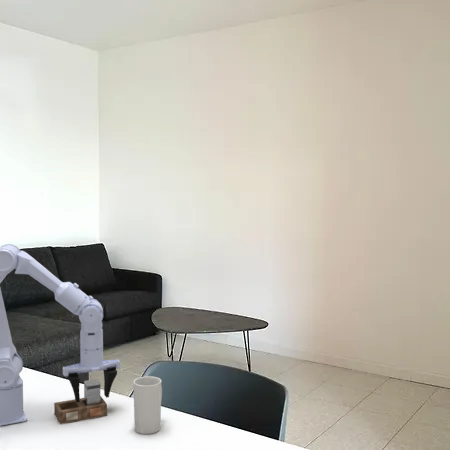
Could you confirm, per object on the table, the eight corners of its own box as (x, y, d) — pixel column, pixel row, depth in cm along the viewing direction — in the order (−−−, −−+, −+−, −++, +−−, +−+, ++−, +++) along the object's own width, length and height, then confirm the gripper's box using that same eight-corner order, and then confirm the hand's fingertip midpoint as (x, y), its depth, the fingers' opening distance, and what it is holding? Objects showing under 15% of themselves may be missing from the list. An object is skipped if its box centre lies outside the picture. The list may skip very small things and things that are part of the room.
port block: (59, 424, 140) (59, 412, 140) (54, 413, 147) (54, 402, 147) (107, 416, 146) (107, 404, 146) (100, 406, 152) (100, 395, 152)
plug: (87, 415, 145) (87, 385, 145) (84, 410, 148) (83, 380, 148) (100, 413, 147) (100, 383, 146) (97, 408, 150) (97, 379, 149)
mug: (152, 437, 134) (152, 387, 133) (128, 431, 137) (127, 383, 136) (172, 421, 143) (172, 374, 142) (150, 416, 146) (149, 370, 145)
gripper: (66, 355, 140) (67, 408, 141) (123, 348, 146) (123, 399, 147) (60, 347, 146) (61, 399, 147) (115, 341, 153) (116, 390, 154)
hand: (92, 398), depth 148 cm, fingers open, 7 cm apart
